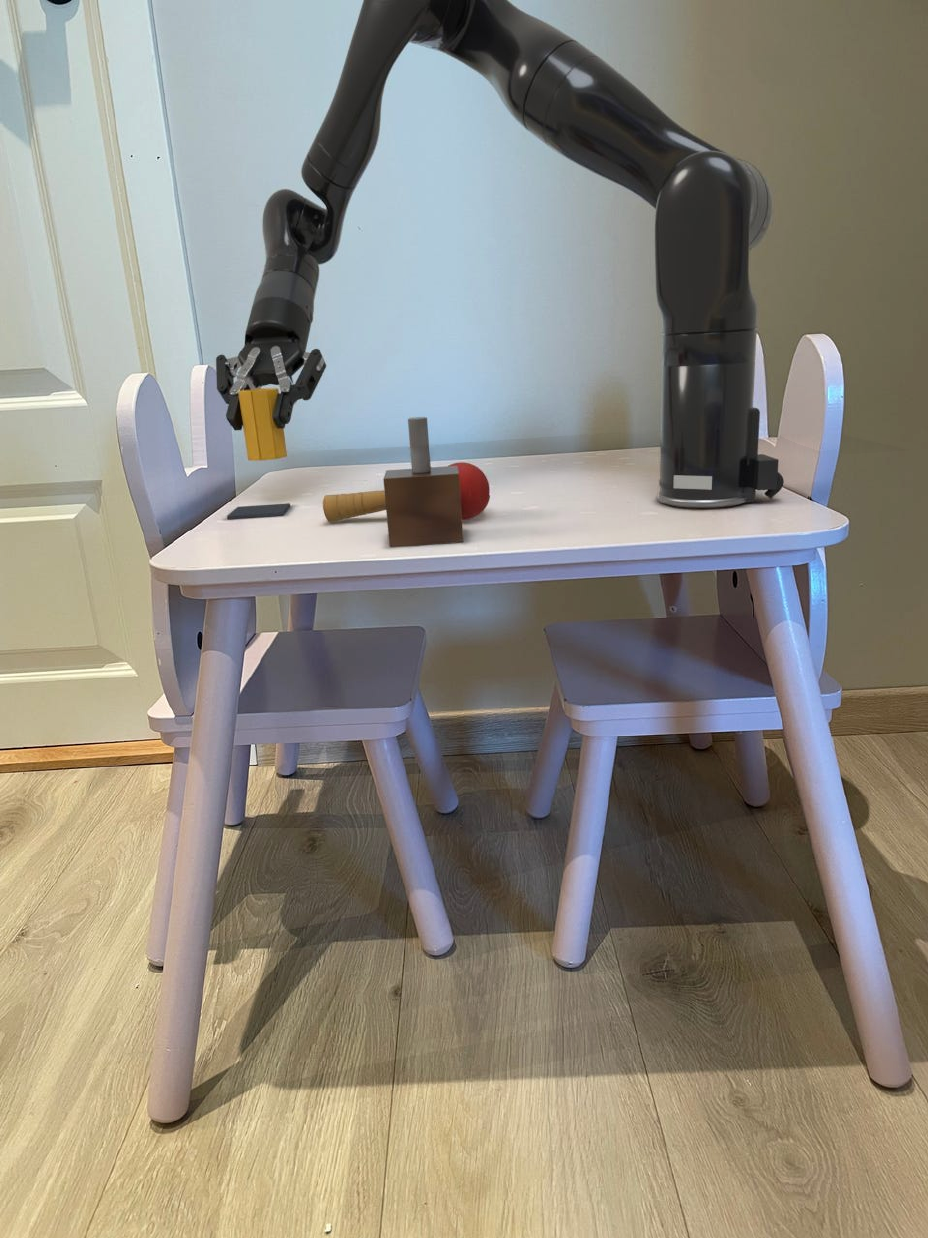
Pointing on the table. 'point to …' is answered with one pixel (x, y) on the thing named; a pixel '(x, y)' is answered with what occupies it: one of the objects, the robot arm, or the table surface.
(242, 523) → the table surface
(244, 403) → the sleeve
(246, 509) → the coaster
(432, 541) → the stand
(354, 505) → the kendama
